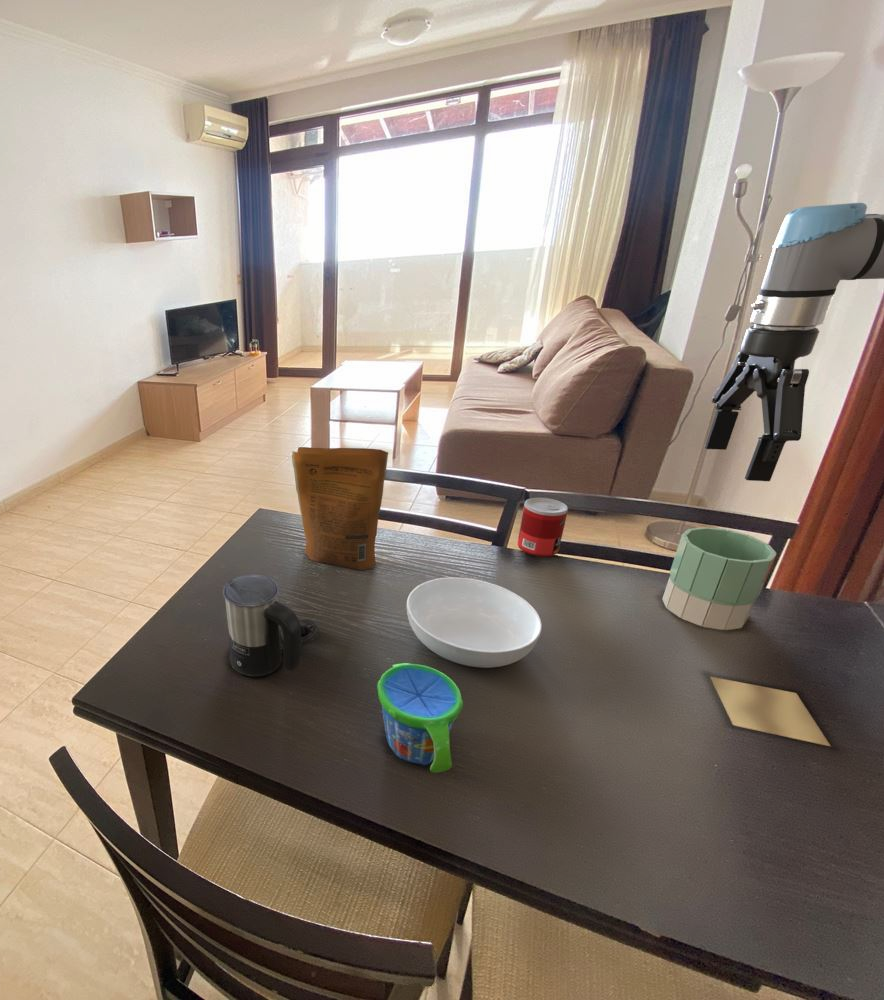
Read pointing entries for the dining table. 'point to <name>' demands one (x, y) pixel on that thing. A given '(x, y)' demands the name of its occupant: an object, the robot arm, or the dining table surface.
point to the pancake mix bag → (340, 503)
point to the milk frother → (262, 627)
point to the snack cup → (419, 713)
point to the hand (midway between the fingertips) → (734, 463)
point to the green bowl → (721, 565)
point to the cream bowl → (704, 610)
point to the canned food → (542, 526)
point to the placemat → (768, 710)
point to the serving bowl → (473, 621)
